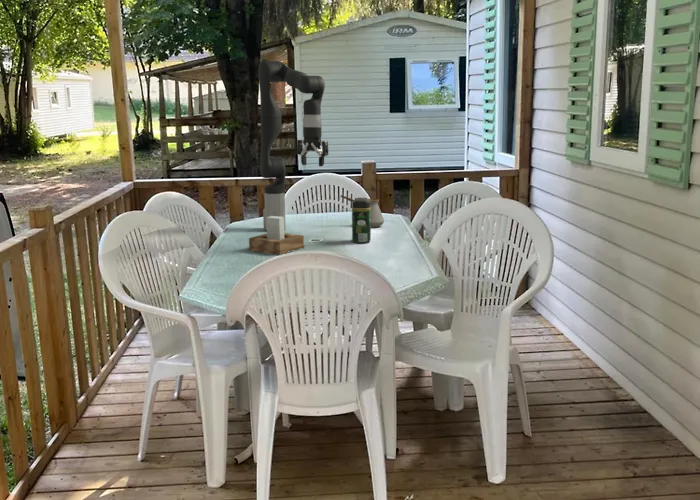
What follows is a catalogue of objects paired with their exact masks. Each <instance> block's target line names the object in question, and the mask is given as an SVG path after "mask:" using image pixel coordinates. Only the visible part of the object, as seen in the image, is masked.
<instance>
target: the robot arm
mask: <svg viewBox="0 0 700 500" xmlns="http://www.w3.org/2000/svg"><path fill="white" fill-rule="evenodd" d="M257 70H258V71H257V73H258V86H259V94H260V95H259V96H260V138H261V139H260V142H261V143H260V144H261V145H260V163H259V165H260V167H259V168H260V169H259V170H260V171H259V172H260V175H261V177H262V179H275V180H274V181H273V182H271V183H270V184H268V185H265V186H264V189H263V190H264V192H263V193H264V208H263V210H262V213H263V214H262V215H263V230H265V231H267V224H266V217H270V216H278V217H284V231H286V197H285V196H286V195H285V194H286V193H285V192H286V191H285V190H286V162H285V159H284V158H283V157H280V156H279V157H278V156H276V157H273V156H272V157H271V156H270V154H271V149H272V146H273V143H275V141H276V139H277V137H278V136H279V134H280V132H281V129H282V112H281V111H282V110H281V109H280V107H279V106H278V104H277V102H276V100H275V98H274V96H273V93H272V90H271V89H272V88H271V83H283V82H284V83H286V85H288V86H289V87H291V88H294V89H297V90H298V91H299V92H300V93H302V94H312V96H311V98H309V99H306V100H304V102H303V117H302V137H303V139H297V142H296V154H297V155H299V156H300V160H301V161H300V163H301V165H302V166H307V155H308V153H309V152H315V153H316V154H317V155H318V156H319V157H318V167H323V166H324V165H325V157H327V156H329V141H328V140H322V136H323V135H322V133H323V132H322V116H321V115H322V114H321V113H322V112H321V109H322V108H321V106H322V101H323V96H324V94H325V93H324V92H325V88H326V83H325V81H324V78H323V77H322V76H319V75H308V74H307V73H305V72H302V71H299V70H296V69H293V68H291V67H289V66H288V65H286V64H285V63H283V62H281V61H279V60H261V61H260V63H259V65H258V69H257Z"/></svg>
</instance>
